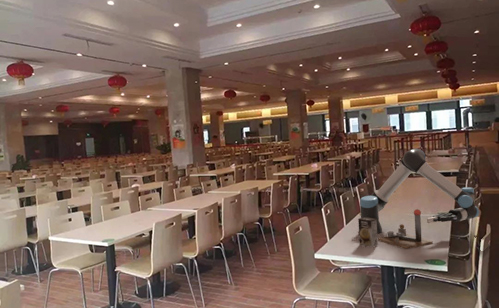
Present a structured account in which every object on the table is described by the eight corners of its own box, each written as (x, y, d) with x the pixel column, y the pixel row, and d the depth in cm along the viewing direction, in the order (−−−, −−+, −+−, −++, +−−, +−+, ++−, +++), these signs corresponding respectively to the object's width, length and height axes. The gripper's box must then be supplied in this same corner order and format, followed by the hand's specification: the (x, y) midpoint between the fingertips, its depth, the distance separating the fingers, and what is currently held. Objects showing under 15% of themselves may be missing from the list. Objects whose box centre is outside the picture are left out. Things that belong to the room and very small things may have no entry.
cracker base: (403, 235, 266) (402, 222, 265) (432, 243, 244) (432, 229, 243) (378, 240, 258) (377, 227, 258) (406, 249, 236) (405, 235, 236)
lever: (387, 237, 258) (385, 207, 257) (390, 235, 261) (389, 206, 260) (420, 242, 242) (418, 210, 241) (423, 240, 245) (422, 209, 244)
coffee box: (359, 245, 251) (357, 218, 250) (365, 242, 255) (363, 216, 254) (372, 247, 244) (370, 220, 243) (378, 245, 248) (376, 218, 247)
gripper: (466, 222, 250) (437, 228, 241) (448, 219, 262) (420, 225, 253) (465, 210, 250) (436, 216, 241) (448, 207, 262) (419, 212, 253)
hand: (428, 220), depth 247 cm, fingers closed
